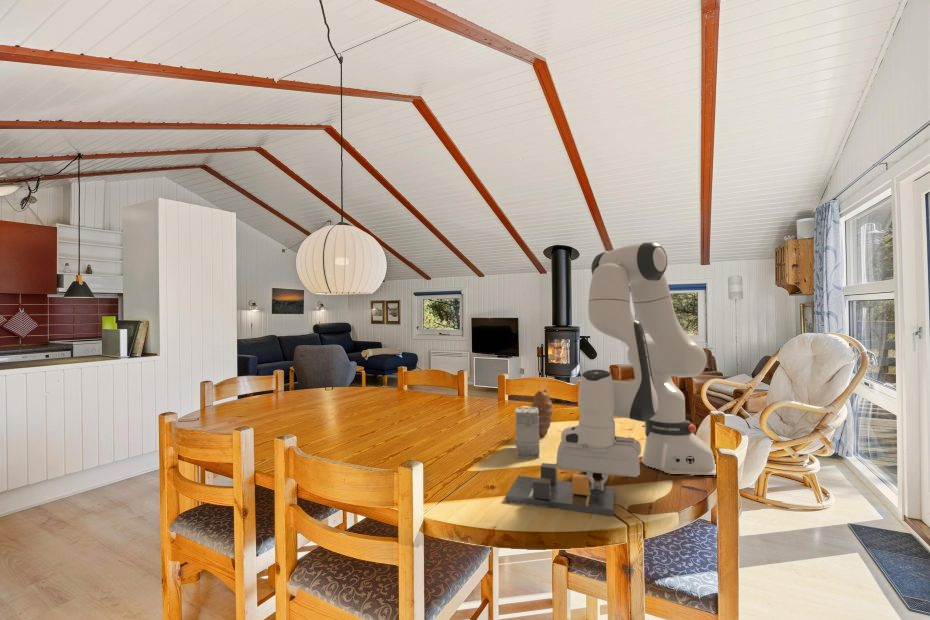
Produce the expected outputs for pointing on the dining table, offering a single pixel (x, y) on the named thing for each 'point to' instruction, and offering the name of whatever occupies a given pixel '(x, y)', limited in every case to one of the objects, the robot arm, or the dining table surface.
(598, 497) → the panel
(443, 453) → the dining table surface
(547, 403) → the brown ribbed ovoid
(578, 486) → the toggle
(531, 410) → the circuit breaker
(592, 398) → the robot arm
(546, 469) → the toggle
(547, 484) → the toggle
